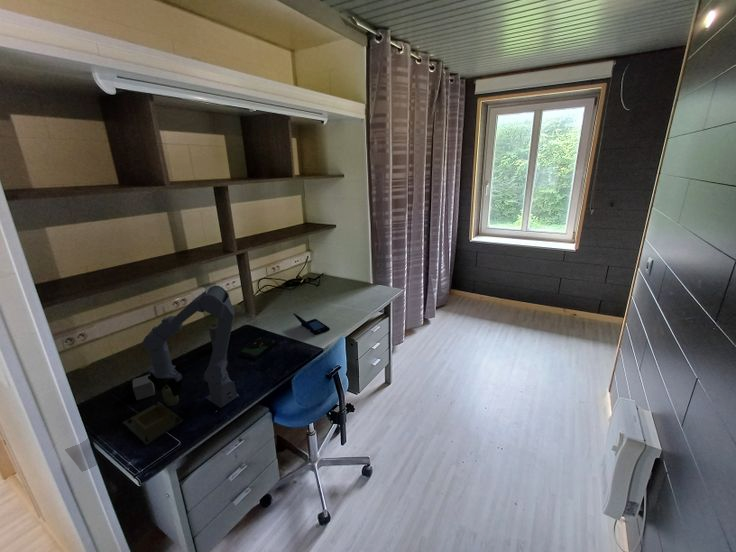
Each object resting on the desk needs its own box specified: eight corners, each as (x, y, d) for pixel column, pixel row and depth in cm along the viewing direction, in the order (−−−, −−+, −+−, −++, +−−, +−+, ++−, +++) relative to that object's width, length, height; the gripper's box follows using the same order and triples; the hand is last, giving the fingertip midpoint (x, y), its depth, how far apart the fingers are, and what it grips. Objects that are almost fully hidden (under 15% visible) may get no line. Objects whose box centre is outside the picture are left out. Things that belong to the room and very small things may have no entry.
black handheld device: (330, 330, 175) (330, 315, 172) (308, 339, 167) (307, 323, 164) (315, 320, 187) (314, 305, 183) (294, 327, 179) (292, 312, 176)
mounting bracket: (183, 421, 115) (181, 413, 114) (146, 445, 106) (143, 436, 105) (159, 403, 124) (157, 396, 123) (123, 424, 114) (121, 416, 113)
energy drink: (221, 344, 163) (217, 322, 159) (227, 347, 160) (223, 325, 156) (210, 348, 159) (206, 326, 155) (216, 352, 156) (212, 330, 152)
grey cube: (136, 400, 126) (132, 387, 124) (136, 392, 130) (132, 379, 128) (155, 394, 129) (151, 381, 127) (154, 386, 134) (150, 373, 131)
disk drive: (261, 341, 167) (240, 356, 154) (260, 336, 166) (239, 350, 153) (278, 344, 163) (258, 360, 150) (277, 339, 162) (257, 355, 149)
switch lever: (181, 401, 125) (177, 385, 123) (169, 408, 122) (164, 392, 119) (175, 396, 128) (171, 380, 125) (162, 403, 124) (158, 387, 122)
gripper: (186, 359, 119) (192, 390, 124) (157, 351, 124) (164, 381, 129) (168, 370, 113) (176, 402, 118) (139, 361, 118) (147, 392, 123)
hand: (169, 392), depth 123 cm, fingers open, 7 cm apart
